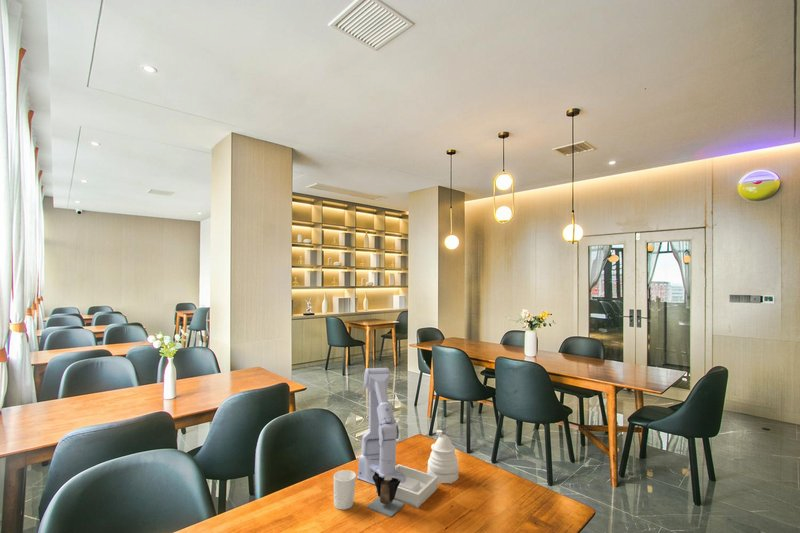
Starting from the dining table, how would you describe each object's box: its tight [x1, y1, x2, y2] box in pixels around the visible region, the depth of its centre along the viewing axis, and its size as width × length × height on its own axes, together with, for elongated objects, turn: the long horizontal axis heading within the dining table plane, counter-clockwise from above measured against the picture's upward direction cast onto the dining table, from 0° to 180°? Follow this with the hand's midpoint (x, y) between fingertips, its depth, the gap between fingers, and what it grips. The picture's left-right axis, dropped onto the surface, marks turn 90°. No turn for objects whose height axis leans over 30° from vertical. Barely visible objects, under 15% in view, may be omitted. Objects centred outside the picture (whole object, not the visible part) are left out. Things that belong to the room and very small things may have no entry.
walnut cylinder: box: [380, 480, 393, 504], centre depth 133 cm, size 4×4×6 cm
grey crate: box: [375, 463, 439, 509], centre depth 144 cm, size 18×16×4 cm
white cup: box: [333, 469, 357, 510], centre depth 133 cm, size 8×8×10 cm
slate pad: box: [366, 496, 406, 518], centre depth 133 cm, size 10×9×1 cm
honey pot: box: [426, 429, 460, 484], centre depth 157 cm, size 13×13×18 cm
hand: (386, 497), depth 133 cm, fingers closed on walnut cylinder, 4 cm apart
